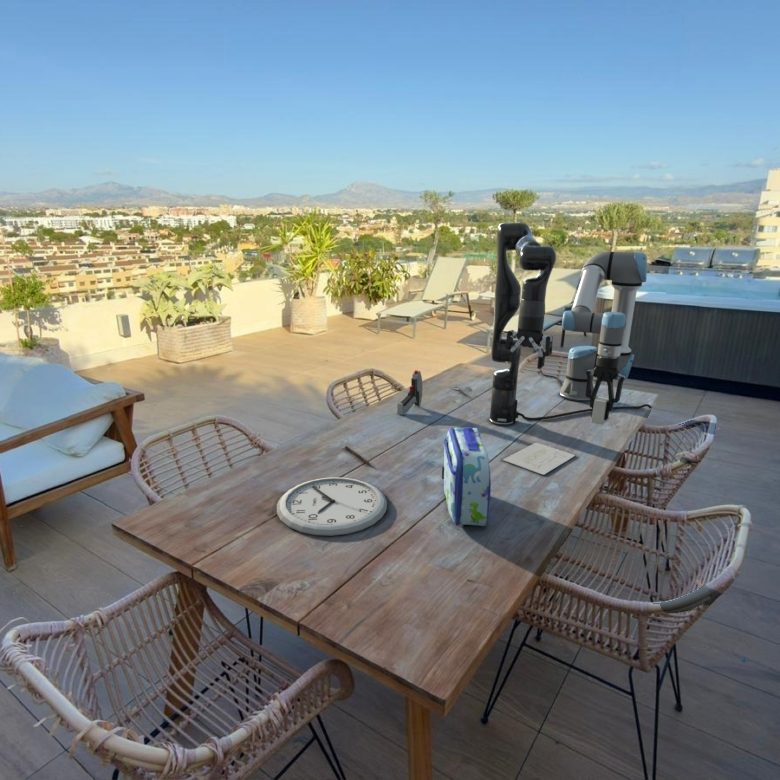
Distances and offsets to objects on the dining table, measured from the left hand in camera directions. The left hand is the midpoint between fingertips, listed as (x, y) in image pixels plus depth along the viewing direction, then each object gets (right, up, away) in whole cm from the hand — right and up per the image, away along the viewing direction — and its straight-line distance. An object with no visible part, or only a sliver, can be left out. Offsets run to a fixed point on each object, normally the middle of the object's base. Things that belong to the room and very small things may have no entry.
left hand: (526, 365), depth 163 cm
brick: (+35, -19, +30) cm, 50 cm away
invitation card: (+7, -30, +11) cm, 33 cm away
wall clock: (-58, -39, -20) cm, 73 cm away
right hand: (+35, -18, +30) cm, 49 cm away
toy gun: (-34, -16, +54) cm, 66 cm away
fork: (-10, -8, +80) cm, 81 cm away
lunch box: (-23, -40, -20) cm, 50 cm away
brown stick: (-54, -30, +10) cm, 62 cm away
